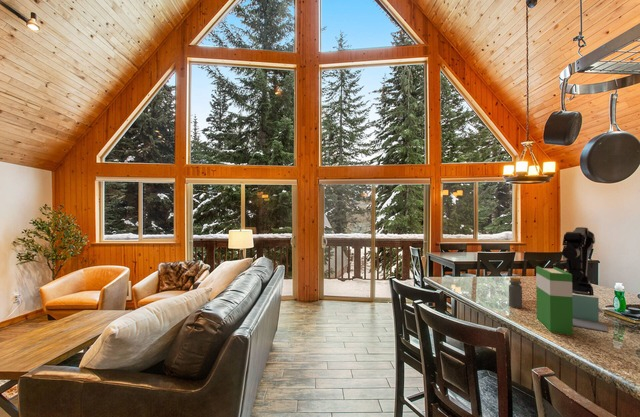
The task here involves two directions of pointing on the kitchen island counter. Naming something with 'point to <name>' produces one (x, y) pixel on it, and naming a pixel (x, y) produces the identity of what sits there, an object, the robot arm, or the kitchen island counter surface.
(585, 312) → the tile
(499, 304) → the kitchen island counter surface
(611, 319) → the kitchen island counter surface
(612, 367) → the kitchen island counter surface
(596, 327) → the mat
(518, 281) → the bottle
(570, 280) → the hardback book
